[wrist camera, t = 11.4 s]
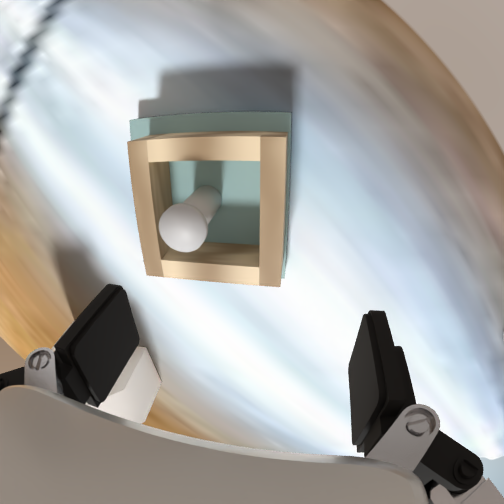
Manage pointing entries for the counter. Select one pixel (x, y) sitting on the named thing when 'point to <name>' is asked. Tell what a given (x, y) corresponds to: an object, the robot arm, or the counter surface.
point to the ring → (211, 253)
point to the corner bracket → (132, 388)
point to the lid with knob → (215, 182)
